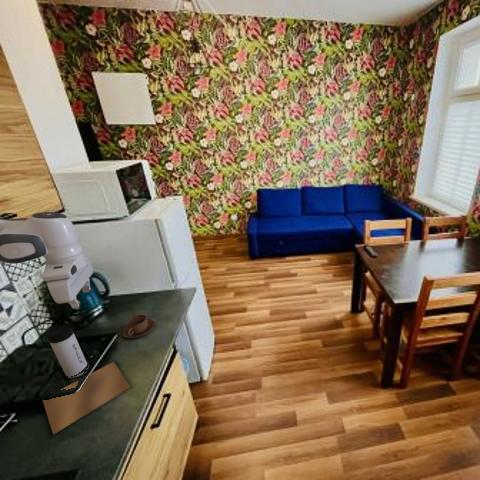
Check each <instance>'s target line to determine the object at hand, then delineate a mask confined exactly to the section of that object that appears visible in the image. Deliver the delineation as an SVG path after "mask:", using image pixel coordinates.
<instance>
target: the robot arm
mask: <svg viewBox="0 0 480 480" xmlns="http://www.w3.org/2000/svg"><path fill="white" fill-rule="evenodd" d="M42 257H43V258H44V260H45V264H44V265H45V266H44V269H43V272H42V274H41V279H42V281H43V282H47V283H46V285H47V289H48V291H49V293H50V295H51V297H52V299H53V301H54V302H55V303H56V304H58V305H62V304H69V305H70V307H71V309H78V308H80V306H81V301H80V300H78V299H77V295H78V294H79V293H80V292H81V291H82V293H83V294H84V293H85V294H86V293H90V291H91V289H92V288H91V286H90V280H91V279H90V278H91V276H92V275H93V274H94V268H93V266H92V263H91V262H90V259H89V258H88V257H87V256H86V255H85V252H84V250H83V248H82V246H81V245H80V244H79V236H78V233H77V230H76V229H75V226H74V224H73V222H72V221H71V219H70V218H69V216H68V215H66V214H65V213H63V212H58V211H57V212H56V211H42V212H35V213H33V214H31V215H30V216H29V217H19V218H0V262H1V263H5V264H13V265H15V264H22V263H25V262H26V263H27V262H29V261H32V260H36V259H40V258H42Z"/></svg>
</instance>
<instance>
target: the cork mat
mask: <svg viewBox="0 0 480 480" xmlns="http://www.w3.org/2000/svg"><path fill="white" fill-rule="evenodd" d="M89 374H90V375H89ZM89 374H88V375H89V376H88V378H87V379H86V381H85V382H84V384H83V385H82V387H81V389H80V390H79V391H78V392H76V393H74V394H70V395H65V396H61V397H56V398H52V399H49V400H42V404H43V406H44V409H45V414H46V416H47V421H48V423H49V426H50V429H51V432H52V435H56V434H57V433H59V432H60V431H63V429H66V428H67V427H69V426H70V425H72V424H73V423H76V422H77V421H79V420H80V419H82V418H83V417H85V416H87V415H88V414H90V413H91V412H94V411H95V410H97V409H98V408H100V407H102V406H103V405H105V404H106V403H108V402H110V401H112V400H113V399H114V398H116V397H118V396H119V395H121V394H122V393H124V392H126V391H127V390H130V389H131V386H130V384H129V383H128V381H127V380H126V378H125V377H124V375H123V373H122V372H121V370H120V369H119V367H118V365H117V364H116V362H114V361H112V362H110V363H108V364H107V365H104V366H102V367H101V368H98V369H97V370H95V371H93V372H91V373H89ZM78 382H79V381H78V380H76V381H74V382H72V383H70V384H68V385H67V386H65V387H63V388H61V389H60V390H63V389H66V390H68V389H71V388H76V386H77V385H78Z"/></svg>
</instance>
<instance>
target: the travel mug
mask: <svg viewBox="0 0 480 480" xmlns="http://www.w3.org/2000/svg"><path fill="white" fill-rule="evenodd" d="M44 337H45V338H47V340H48V342H49V344H50V346H51V348H52V350H53V352H54V354H55V357H56V358H57V360H58V362H59V364H60V366H61V368H62V371H63V373H64V374H65V376H66V378H67V379H69V380H70V379H76V378H78V377H80V376H83V375H84V374H85V373H84V372H83V373H84V374H83V373H81V374H79V375H77V376H74V375H76V374H78V373H79V372H81V371H82V370H83V369H84V368H85V367H86V366H87V364H88V362H87V360H86V357H85V355H84V353H83V351H82V349H81V346H80V344H79V342H78V339H77V337H76V335H75V333H74V331H73V329H72V327H71V326H70V325H68V324H66V325H65V324H64V325H58V326H55V327H53V328H50V329H49V330H48V331H46V332H44ZM87 369H89V367H88V368H87ZM87 369H86V370H87ZM87 371H88V370H87ZM67 376H68V377H67ZM71 376H73V377H71Z"/></svg>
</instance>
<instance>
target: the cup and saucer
mask: <svg viewBox="0 0 480 480" xmlns="http://www.w3.org/2000/svg"><path fill="white" fill-rule="evenodd" d="M154 327H155V320H153V319H151V318H147V316H146V315H145V314H137V315H134V316H132V317H130V318H128V319H127V321H126V326H125V327H124V328H123V330H122V336H123V337H124V338H126V339H137V338H141V337H143V336H146V335H147V334H148V333H150V332H151V331H152V330H154Z"/></svg>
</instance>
